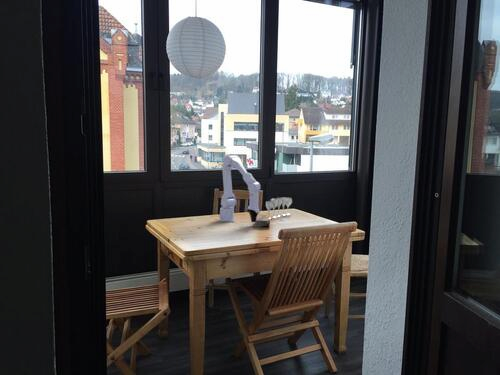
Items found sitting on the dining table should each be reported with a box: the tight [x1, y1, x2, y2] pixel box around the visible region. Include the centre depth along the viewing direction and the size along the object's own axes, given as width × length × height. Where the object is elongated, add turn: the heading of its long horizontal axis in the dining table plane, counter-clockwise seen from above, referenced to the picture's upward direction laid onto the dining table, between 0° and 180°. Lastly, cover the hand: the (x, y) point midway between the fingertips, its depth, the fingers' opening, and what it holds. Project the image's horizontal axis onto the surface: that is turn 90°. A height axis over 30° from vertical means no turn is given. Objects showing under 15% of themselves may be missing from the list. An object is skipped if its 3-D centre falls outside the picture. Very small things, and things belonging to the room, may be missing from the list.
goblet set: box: [265, 196, 293, 220], centre depth 300 cm, size 28×6×13 cm, turn 140°
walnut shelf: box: [255, 214, 271, 229], centre depth 269 cm, size 8×17×5 cm, turn 179°
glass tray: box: [254, 221, 268, 227], centre depth 269 cm, size 7×5×4 cm
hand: (253, 222), depth 268 cm, fingers closed
